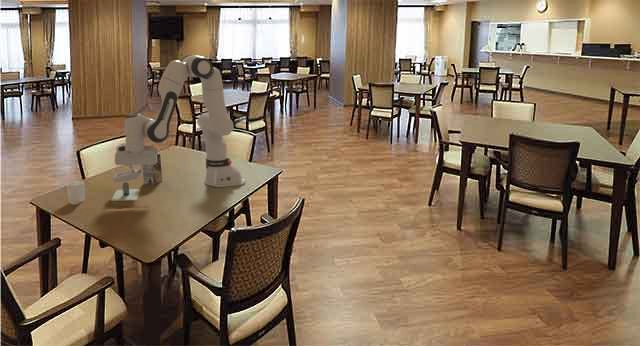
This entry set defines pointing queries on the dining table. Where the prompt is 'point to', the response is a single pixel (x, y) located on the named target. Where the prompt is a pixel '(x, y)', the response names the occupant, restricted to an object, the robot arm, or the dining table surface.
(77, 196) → the white cup
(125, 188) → the post
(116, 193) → the keeper plate
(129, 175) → the rectangular frame
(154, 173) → the coffee box
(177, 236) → the dining table surface
